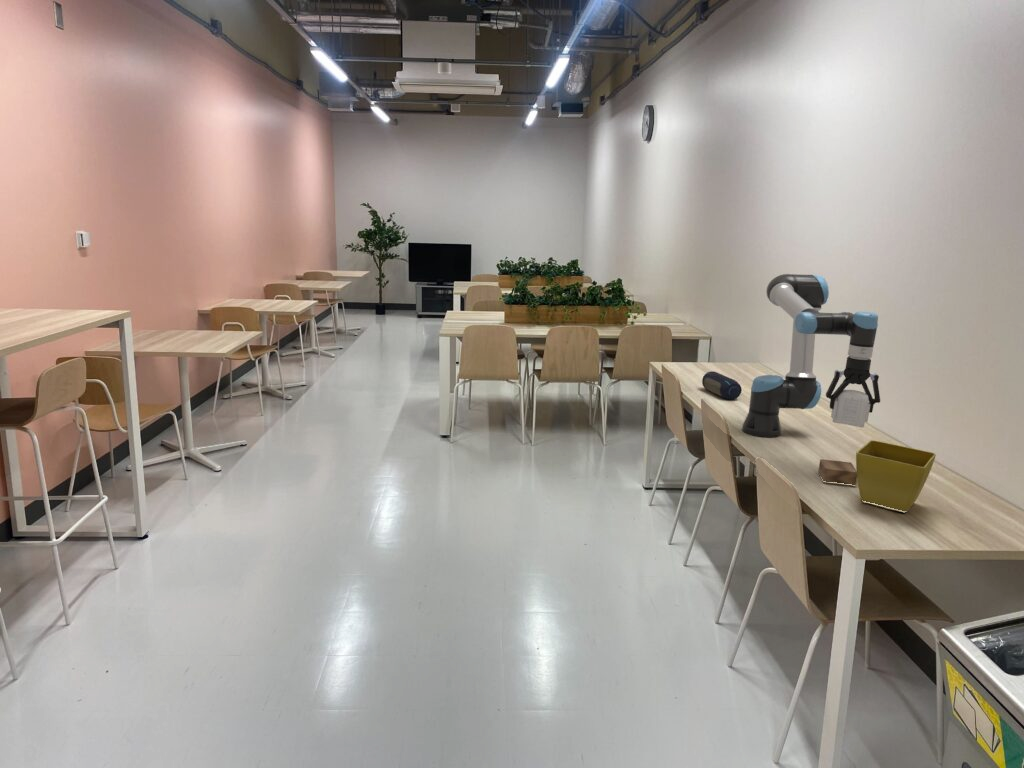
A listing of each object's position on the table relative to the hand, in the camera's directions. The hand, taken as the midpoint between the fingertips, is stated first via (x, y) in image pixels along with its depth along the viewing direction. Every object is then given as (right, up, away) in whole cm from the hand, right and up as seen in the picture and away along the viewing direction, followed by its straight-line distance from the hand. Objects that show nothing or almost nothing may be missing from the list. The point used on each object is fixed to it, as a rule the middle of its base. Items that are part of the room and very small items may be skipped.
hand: (849, 419), depth 250 cm
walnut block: (-7, -20, -6) cm, 22 cm away
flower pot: (0, -25, -25) cm, 36 cm away
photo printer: (0, -2, +1) cm, 2 cm away
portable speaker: (-15, +7, +103) cm, 105 cm away
